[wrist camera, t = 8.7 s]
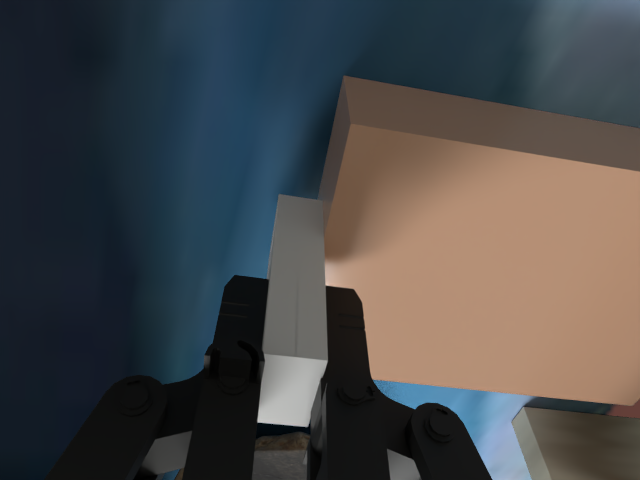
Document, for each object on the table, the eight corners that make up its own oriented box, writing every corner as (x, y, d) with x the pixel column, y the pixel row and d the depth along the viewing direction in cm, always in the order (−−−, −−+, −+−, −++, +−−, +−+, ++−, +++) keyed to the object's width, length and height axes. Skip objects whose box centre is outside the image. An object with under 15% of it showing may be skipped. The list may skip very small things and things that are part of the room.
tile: (295, 296, 21) (292, 371, 18) (342, 70, 15) (350, 123, 12) (588, 331, 23) (632, 406, 20) (733, 140, 17) (831, 203, 14)
